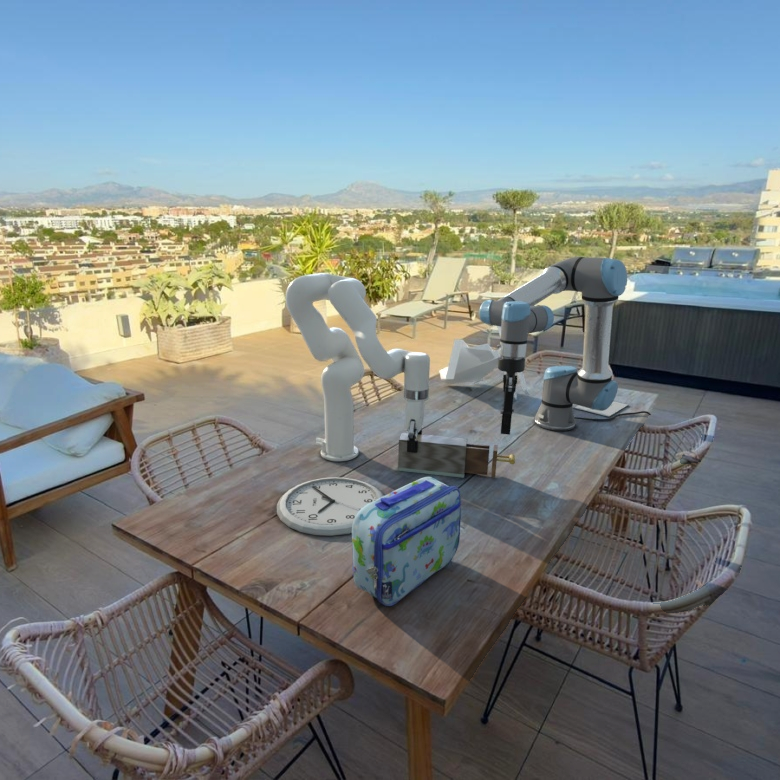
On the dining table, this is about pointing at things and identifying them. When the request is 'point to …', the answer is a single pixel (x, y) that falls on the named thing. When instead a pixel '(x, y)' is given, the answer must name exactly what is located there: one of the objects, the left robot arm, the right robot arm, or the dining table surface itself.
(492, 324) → the right robot arm
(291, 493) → the wall clock
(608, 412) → the invitation card
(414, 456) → the cabinet
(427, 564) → the lunch box
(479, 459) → the drawer
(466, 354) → the white plastic object
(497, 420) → the dining table surface
